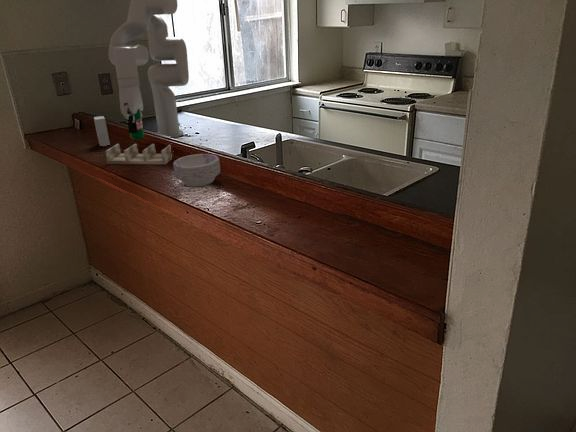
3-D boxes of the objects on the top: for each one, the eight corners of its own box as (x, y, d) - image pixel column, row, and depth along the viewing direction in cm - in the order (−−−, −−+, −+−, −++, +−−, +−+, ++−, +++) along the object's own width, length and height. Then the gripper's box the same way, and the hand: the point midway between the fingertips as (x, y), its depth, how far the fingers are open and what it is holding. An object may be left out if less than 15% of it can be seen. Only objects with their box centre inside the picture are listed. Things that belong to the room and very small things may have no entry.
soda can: (136, 140, 187) (131, 108, 182) (128, 138, 190) (122, 107, 185) (147, 137, 191) (142, 106, 186) (139, 136, 194) (134, 105, 189)
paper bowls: (166, 183, 167) (163, 161, 164) (203, 172, 177) (201, 150, 174) (193, 193, 157) (190, 169, 154) (230, 181, 167) (228, 158, 164)
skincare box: (98, 143, 220) (93, 117, 215) (108, 142, 222) (103, 115, 217) (100, 147, 215) (94, 119, 210) (110, 145, 217) (105, 118, 212)
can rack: (118, 156, 200) (116, 143, 198) (174, 156, 197) (173, 143, 195) (107, 163, 191) (104, 150, 189) (165, 164, 188) (163, 150, 186)
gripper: (129, 79, 190) (136, 126, 198) (108, 86, 175) (117, 136, 182) (147, 78, 189) (154, 126, 196) (128, 85, 174) (136, 136, 181)
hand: (136, 130), depth 189 cm, fingers closed on soda can, 5 cm apart
